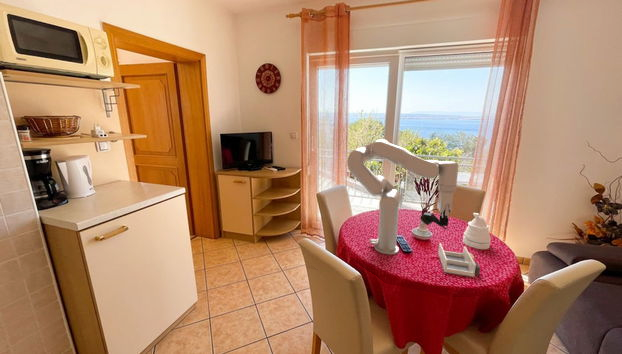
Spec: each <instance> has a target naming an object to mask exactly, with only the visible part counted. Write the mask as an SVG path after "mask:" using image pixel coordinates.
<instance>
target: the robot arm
mask: <svg viewBox="0 0 622 354" xmlns="http://www.w3.org/2000/svg"><path fill="white" fill-rule="evenodd" d="M376 158H380V159H382V160H385V161H387V162H389V163H393V164H395V165H396V166H399V167H400V168H402V169H405V170H406V171H408V172H411V173H413V174H414V175H417V176H420V177H423V178H425V179H434V178H436V177H437V176H438V180H437V181H438V184H437V191H439V192H438V198H437V205H436V207H437V210H438V211H439V212H440V214H439V221H440V225H441V227H442V226H444V227H448V226H449V216H450V214H451V213H452V211H453V200H454V194H455V193H456V191H457V183H458V174H459V163H458V162H456V161H450V160H449V161H448V160H446V161H441V160H435V159H428V160H426V159H424V158H421V157H418V156H417V155H414V154H413V153H411V152H410V151H409V150H408V149H406V148H404V147H401V146H398V145H396V144H392V143H390V142H389V141H388V140H387V139H384V138H382V139H376V140H375V141H374V142H371V143H369V144H366V145H364V146H361V147H357V148H354V149H353V150H352V151H350V152H349V155H348V157H347V165H346V166H347V169H348V170H349V172H350V173H351V174H352V175H353V177H354V178H355V179H356V180H357V181H358V182H359V183H360V184H361V185H362V187H364V188H365V189H366V191H368V193H369V194H370V195H373V196H374V197H375V196H379V197H380V200H379V206H378V207H379V215H378V216H379V217H378V219H379V220H378V234H377V235H378V236H377V239H376V238H375V239H374V238H369V243H371V245H374V249H375V251H377V252H378V253H380V254H383V255H390V256H391V255H396V254H398V253H399V251H400V249H399V248H400V247H398V245H397V239H398V238H397V237H398V226H399V208H400V204H401V201H402V195H401V193H400V191H399V190H398V189H397V188H396V187H395V186H394V185H393V184H392V183H391V182H390V181H389V180H388V179H387V178H386V177H384V175H381V174H375V173H373V171H372V170H371V169H370V168H369V167H367V166H366V165H365V162H368V161H370V160H374V159H376ZM440 225H439V226H440Z"/></svg>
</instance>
